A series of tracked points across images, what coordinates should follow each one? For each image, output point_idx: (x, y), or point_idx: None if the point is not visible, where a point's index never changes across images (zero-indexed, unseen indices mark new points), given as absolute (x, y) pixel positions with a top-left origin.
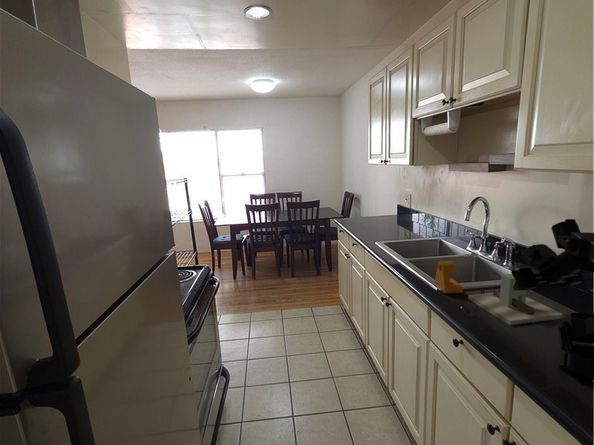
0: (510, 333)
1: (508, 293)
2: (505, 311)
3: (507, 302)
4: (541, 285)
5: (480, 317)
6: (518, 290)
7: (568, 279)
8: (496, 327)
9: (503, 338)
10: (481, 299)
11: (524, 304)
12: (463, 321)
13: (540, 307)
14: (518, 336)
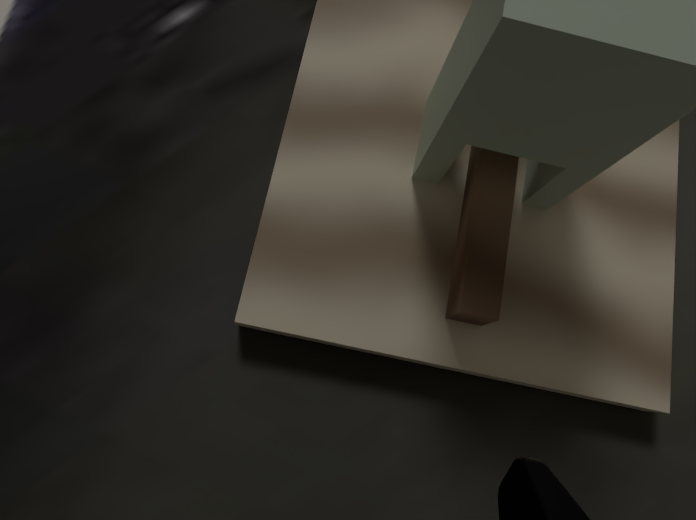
0: (131, 406)
1: (444, 115)
2: (340, 209)
3: (421, 154)
4: (512, 491)
5: (164, 165)
6: (545, 133)
7: None
8: (126, 307)
9: (17, 436)
10: (357, 17)
11: (496, 239)
12: (5, 153)
13: (620, 276)
14: (139, 460)
